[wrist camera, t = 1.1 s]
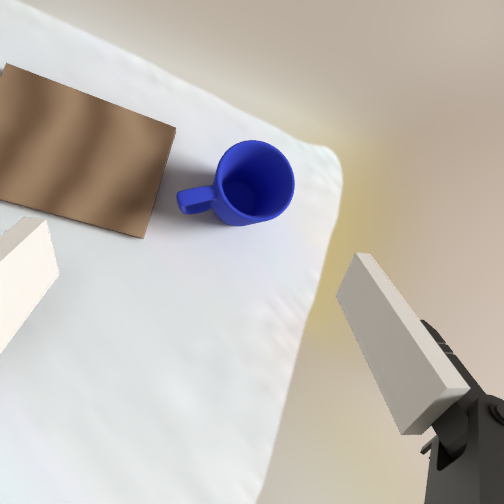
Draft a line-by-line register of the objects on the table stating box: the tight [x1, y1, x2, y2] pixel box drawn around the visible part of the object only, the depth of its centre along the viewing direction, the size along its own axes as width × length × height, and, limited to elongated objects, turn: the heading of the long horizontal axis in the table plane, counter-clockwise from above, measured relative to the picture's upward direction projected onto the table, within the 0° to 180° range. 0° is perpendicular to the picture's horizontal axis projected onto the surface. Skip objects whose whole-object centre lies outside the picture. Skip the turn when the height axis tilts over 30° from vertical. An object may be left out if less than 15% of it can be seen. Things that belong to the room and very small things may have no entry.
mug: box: [176, 140, 295, 226], centre depth 33 cm, size 8×12×10 cm
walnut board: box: [0, 63, 176, 239], centre depth 32 cm, size 18×14×2 cm
